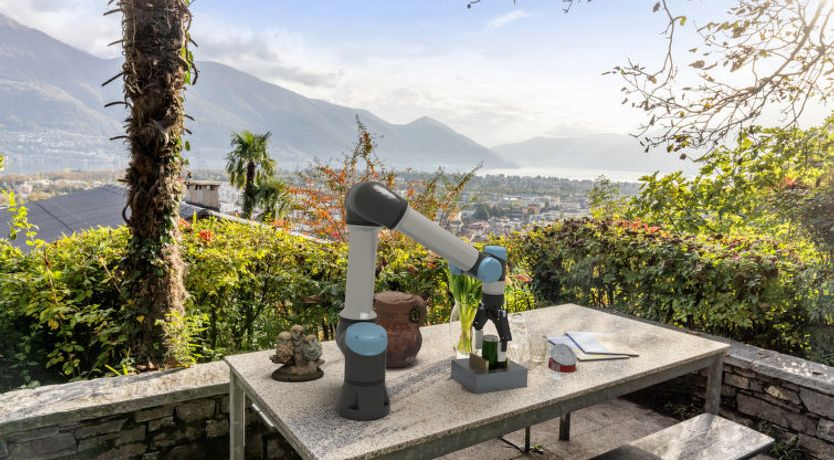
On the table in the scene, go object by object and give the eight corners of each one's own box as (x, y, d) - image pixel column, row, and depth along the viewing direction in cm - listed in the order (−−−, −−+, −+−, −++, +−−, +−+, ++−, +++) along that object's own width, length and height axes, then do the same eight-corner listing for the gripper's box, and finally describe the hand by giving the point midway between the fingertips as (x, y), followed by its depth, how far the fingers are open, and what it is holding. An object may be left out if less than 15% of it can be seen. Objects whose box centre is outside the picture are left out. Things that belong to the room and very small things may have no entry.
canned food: (571, 379, 188) (586, 358, 185) (563, 383, 179) (579, 362, 177) (547, 359, 193) (561, 339, 191) (538, 362, 185) (553, 341, 183)
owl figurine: (269, 384, 155) (270, 331, 155) (267, 372, 167) (269, 322, 166) (326, 380, 161) (328, 328, 160) (321, 368, 172) (323, 320, 171)
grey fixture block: (475, 394, 156) (477, 365, 155) (448, 375, 171) (449, 349, 171) (534, 385, 166) (535, 359, 165) (503, 368, 181) (504, 344, 181)
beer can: (488, 375, 163) (490, 339, 163) (477, 370, 168) (479, 335, 167) (500, 372, 166) (501, 337, 166) (489, 367, 171) (490, 333, 170)
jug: (369, 373, 170) (372, 301, 168) (356, 354, 190) (359, 290, 188) (429, 369, 177) (433, 300, 175) (411, 351, 197) (414, 289, 195)
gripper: (525, 299, 156) (521, 365, 157) (482, 285, 178) (478, 343, 179) (506, 300, 153) (502, 367, 154) (464, 286, 175) (461, 345, 176)
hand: (489, 354), depth 167 cm, fingers open, 13 cm apart
